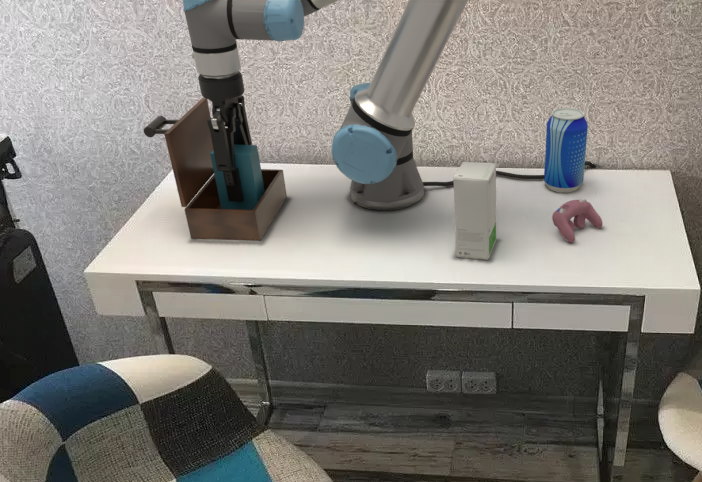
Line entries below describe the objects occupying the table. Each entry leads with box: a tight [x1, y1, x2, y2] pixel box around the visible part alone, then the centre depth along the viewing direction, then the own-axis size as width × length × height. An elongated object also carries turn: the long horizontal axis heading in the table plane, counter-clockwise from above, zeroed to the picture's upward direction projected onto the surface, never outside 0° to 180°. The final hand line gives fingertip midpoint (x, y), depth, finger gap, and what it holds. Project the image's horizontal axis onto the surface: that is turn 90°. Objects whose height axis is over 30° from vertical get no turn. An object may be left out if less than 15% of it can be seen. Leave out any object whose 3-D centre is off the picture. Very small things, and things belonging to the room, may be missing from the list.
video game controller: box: [551, 198, 603, 244], centre depth 151 cm, size 10×5×7 cm, turn 135°
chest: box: [184, 168, 288, 242], centre depth 154 cm, size 13×19×7 cm
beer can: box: [543, 107, 589, 194], centre depth 165 cm, size 8×8×16 cm
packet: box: [210, 144, 265, 210], centre depth 152 cm, size 8×5×14 cm, turn 87°
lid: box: [143, 97, 214, 208], centre depth 149 cm, size 14×19×8 cm
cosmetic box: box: [452, 161, 497, 260], centre depth 142 cm, size 8×7×16 cm
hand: (241, 192), depth 153 cm, fingers open, 6 cm apart
